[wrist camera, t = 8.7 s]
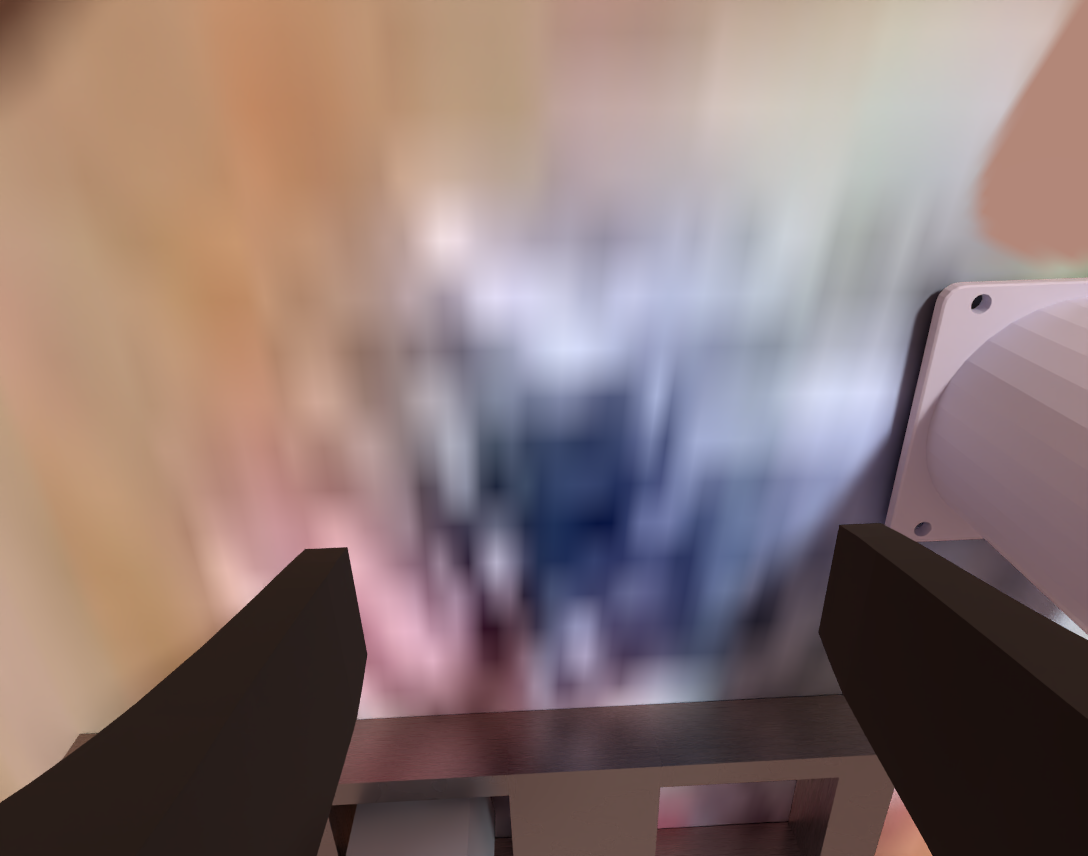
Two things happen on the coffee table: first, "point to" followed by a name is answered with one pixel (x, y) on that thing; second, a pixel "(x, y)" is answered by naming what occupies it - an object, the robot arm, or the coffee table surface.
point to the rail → (627, 775)
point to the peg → (424, 828)
